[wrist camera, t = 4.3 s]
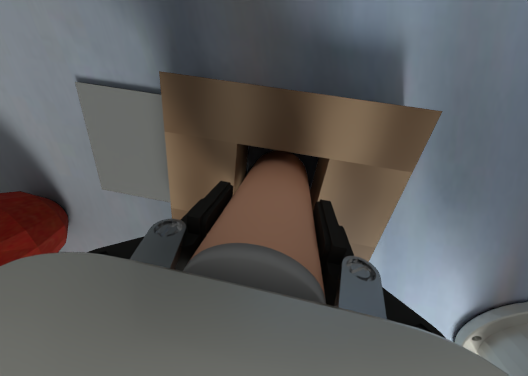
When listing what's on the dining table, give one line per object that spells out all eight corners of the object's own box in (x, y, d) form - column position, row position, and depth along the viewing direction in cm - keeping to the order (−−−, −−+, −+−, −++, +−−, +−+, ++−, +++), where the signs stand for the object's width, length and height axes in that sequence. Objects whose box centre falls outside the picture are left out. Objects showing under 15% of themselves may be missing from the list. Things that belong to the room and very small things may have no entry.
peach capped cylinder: (313, 155, 15) (352, 283, 5) (300, 207, 17) (307, 379, 7) (254, 145, 16) (164, 241, 5) (248, 197, 18) (175, 344, 7)
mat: (168, 95, 16) (165, 95, 16) (176, 201, 20) (174, 203, 20) (79, 82, 16) (74, 81, 16) (105, 187, 21) (102, 189, 20)
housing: (404, 108, 14) (442, 111, 10) (347, 247, 19) (359, 280, 16) (191, 78, 15) (159, 71, 11) (195, 217, 21) (174, 241, 17)
